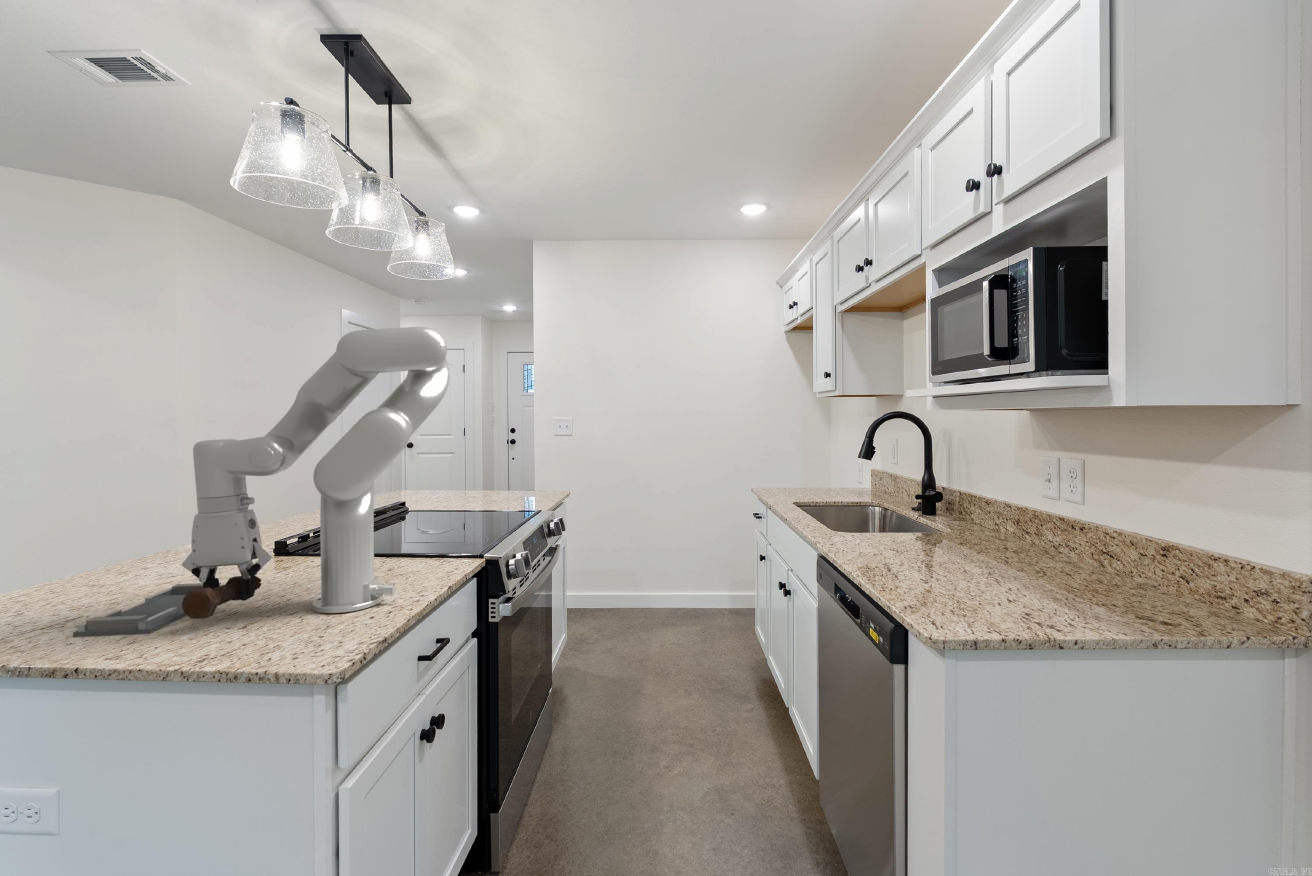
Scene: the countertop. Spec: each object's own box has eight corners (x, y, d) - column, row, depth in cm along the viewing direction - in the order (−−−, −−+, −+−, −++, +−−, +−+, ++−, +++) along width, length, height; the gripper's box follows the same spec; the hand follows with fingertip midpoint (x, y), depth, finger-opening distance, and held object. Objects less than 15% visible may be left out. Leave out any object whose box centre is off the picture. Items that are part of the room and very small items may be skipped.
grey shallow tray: (226, 590, 121) (226, 581, 121) (144, 629, 99) (144, 618, 98) (173, 592, 120) (173, 583, 120) (78, 632, 97) (77, 621, 97)
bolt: (259, 600, 113) (202, 625, 98) (236, 589, 113) (175, 613, 98) (272, 574, 113) (217, 596, 98) (250, 563, 113) (190, 583, 98)
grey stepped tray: (231, 593, 121) (231, 590, 121) (150, 633, 99) (149, 628, 99) (169, 596, 120) (169, 592, 120) (73, 636, 97) (72, 632, 97)
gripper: (282, 499, 110) (289, 590, 111) (187, 504, 108) (194, 597, 109) (261, 505, 103) (268, 602, 104) (157, 511, 101) (166, 610, 102)
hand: (230, 598), depth 107 cm, fingers closed on bolt, 5 cm apart
